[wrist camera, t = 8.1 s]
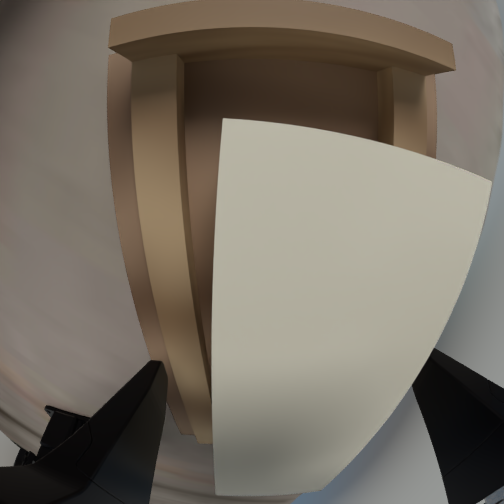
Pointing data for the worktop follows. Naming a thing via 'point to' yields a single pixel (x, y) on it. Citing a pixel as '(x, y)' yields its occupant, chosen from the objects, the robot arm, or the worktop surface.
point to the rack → (210, 129)
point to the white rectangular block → (325, 295)
